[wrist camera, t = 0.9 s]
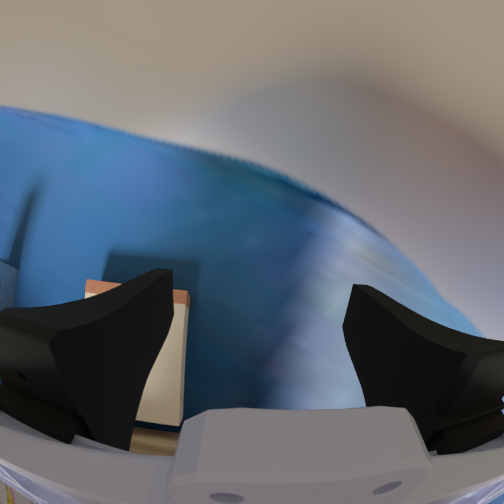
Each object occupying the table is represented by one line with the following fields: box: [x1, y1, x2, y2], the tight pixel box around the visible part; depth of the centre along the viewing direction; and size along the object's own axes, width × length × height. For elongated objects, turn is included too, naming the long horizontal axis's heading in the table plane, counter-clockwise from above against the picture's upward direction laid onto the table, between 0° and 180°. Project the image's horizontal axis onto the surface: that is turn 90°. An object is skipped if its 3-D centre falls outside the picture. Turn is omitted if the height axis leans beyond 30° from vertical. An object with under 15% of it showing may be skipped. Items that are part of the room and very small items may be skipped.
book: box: [85, 279, 190, 426], centre depth 20 cm, size 10×8×3 cm
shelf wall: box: [129, 426, 180, 456], centre depth 16 cm, size 1×20×6 cm, turn 87°
